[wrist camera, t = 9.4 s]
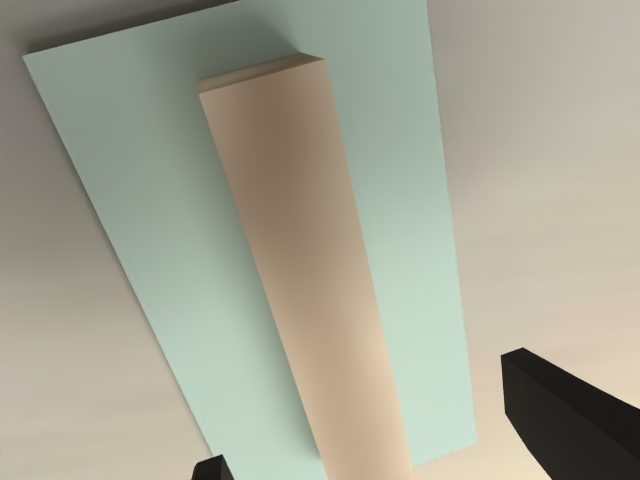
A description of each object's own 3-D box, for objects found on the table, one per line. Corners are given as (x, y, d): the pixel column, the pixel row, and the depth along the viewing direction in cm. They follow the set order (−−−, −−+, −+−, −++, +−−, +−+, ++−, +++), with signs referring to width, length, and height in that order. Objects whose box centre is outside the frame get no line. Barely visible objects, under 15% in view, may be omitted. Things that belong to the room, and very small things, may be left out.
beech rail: (300, 52, 14) (324, 58, 11) (390, 436, 21) (419, 497, 18) (198, 80, 14) (198, 94, 11) (324, 461, 21) (344, 526, 18)
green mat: (412, -44, 14) (420, -47, 14) (471, 432, 23) (477, 442, 22) (28, 54, 13) (21, 55, 12) (247, 517, 22) (248, 529, 21)
